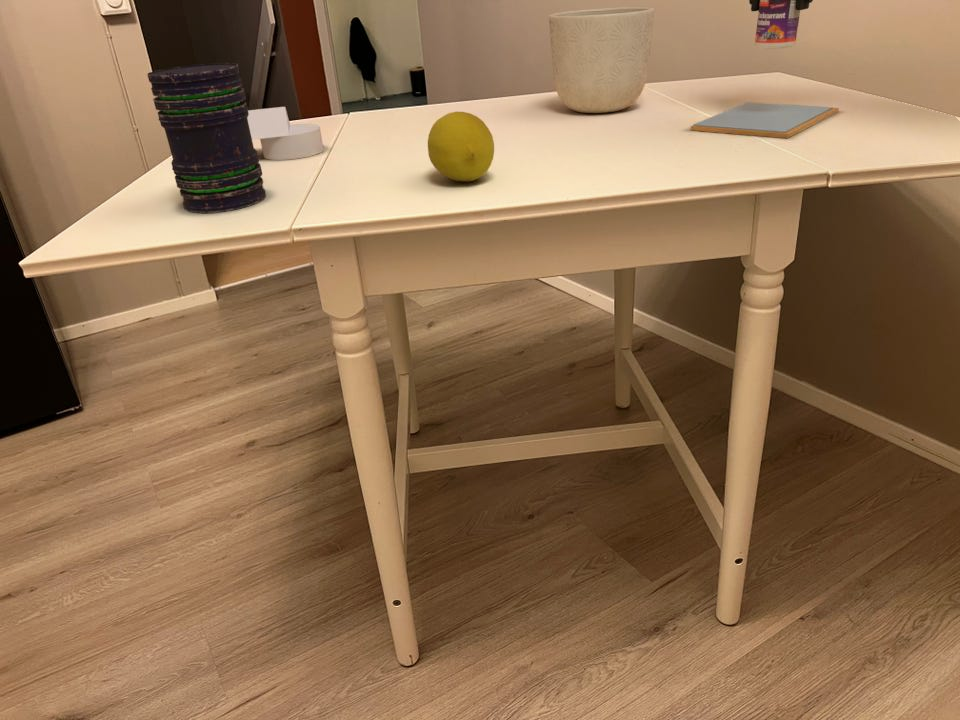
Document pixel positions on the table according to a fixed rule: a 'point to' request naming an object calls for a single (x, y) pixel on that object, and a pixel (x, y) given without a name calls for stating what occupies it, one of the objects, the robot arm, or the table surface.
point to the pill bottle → (777, 24)
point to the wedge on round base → (283, 135)
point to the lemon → (460, 146)
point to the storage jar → (208, 136)
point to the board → (765, 119)
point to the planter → (601, 57)
